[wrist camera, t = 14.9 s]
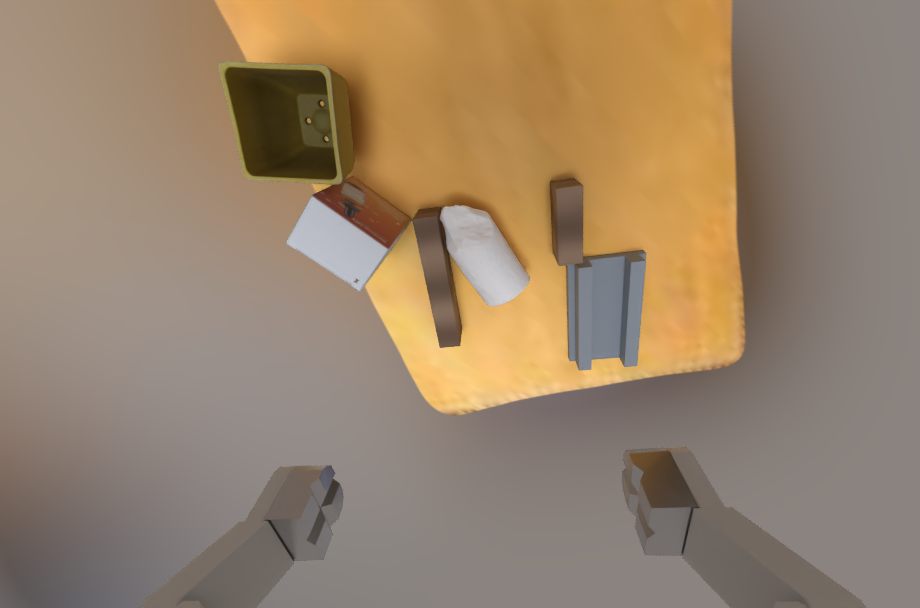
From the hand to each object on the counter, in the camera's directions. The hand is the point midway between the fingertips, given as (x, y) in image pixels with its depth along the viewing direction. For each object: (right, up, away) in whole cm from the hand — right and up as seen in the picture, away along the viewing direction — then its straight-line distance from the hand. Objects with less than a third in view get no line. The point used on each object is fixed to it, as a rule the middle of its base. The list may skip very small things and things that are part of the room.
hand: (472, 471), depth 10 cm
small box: (-11, +15, +32) cm, 37 cm away
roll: (+2, +12, +33) cm, 35 cm away
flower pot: (-14, +23, +28) cm, 39 cm away
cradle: (+17, +4, +35) cm, 39 cm away
